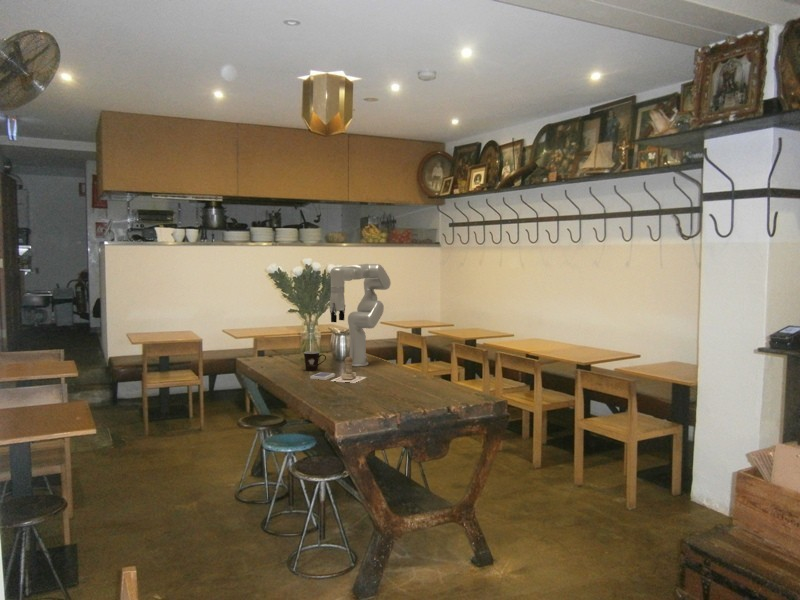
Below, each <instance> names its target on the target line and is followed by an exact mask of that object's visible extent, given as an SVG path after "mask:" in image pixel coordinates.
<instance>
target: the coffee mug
mask: <svg viewBox="0 0 800 600" xmlns="http://www.w3.org/2000/svg"><path fill="white" fill-rule="evenodd" d="M303 356H304V363H305V364H304V365H305V370H306V372H315V371H318V367H319V365H321V364H323V363H324V362H325V361H326V359H327V356H326V355H325V354H320V352H319V351H315V350H311V351H305V352H304V351H303ZM321 356H323V357H324V360H323V361H321V362H319V359H320V357H321Z"/></svg>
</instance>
